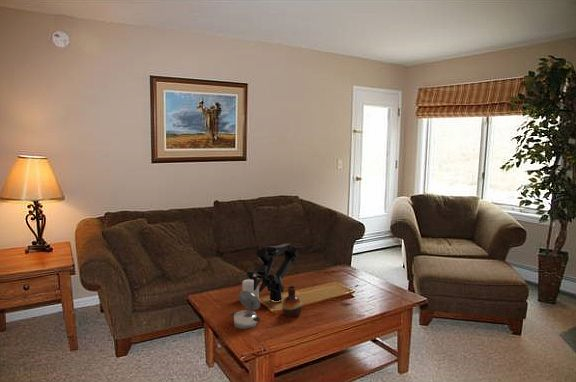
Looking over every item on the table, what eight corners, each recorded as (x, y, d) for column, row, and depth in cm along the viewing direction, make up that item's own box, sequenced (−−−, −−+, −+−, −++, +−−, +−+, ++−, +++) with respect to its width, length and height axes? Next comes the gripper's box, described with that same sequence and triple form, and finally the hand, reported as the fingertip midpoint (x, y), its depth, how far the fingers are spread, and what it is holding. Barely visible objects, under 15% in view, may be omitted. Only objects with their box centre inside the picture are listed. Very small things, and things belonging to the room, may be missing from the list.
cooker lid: (242, 307, 218) (244, 304, 219) (262, 311, 211) (263, 308, 213) (235, 290, 211) (237, 287, 213) (255, 294, 205) (257, 291, 207)
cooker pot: (238, 315, 219) (238, 307, 218) (265, 321, 210) (265, 313, 210) (225, 324, 208) (225, 316, 208) (252, 331, 200) (252, 323, 199)
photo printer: (260, 298, 242) (259, 279, 240) (257, 301, 237) (256, 281, 236) (244, 297, 245) (243, 278, 243) (241, 299, 241) (240, 280, 239)
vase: (295, 320, 211) (294, 292, 209) (278, 315, 217) (277, 289, 215) (305, 312, 221) (305, 285, 219) (289, 308, 226) (288, 282, 224)
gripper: (247, 257, 225) (236, 282, 217) (275, 261, 216) (265, 287, 208) (255, 266, 233) (245, 290, 225) (282, 270, 224) (273, 296, 216)
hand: (256, 291), depth 218 cm, fingers open, 3 cm apart
